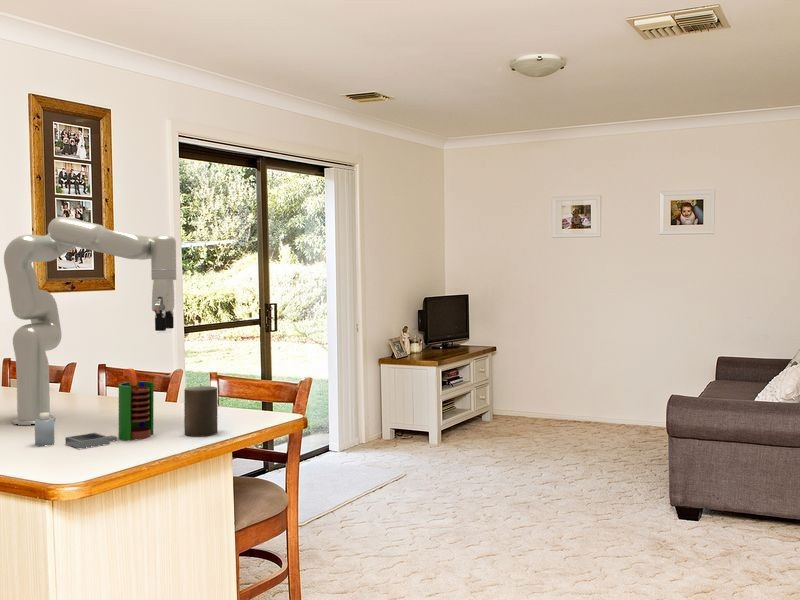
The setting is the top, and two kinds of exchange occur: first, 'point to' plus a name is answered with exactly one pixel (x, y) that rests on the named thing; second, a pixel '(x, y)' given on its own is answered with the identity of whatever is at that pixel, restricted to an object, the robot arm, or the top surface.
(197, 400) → the pillar candle
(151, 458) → the top surface
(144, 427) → the motor
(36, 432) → the pump
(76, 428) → the top surface
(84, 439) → the grey tray
